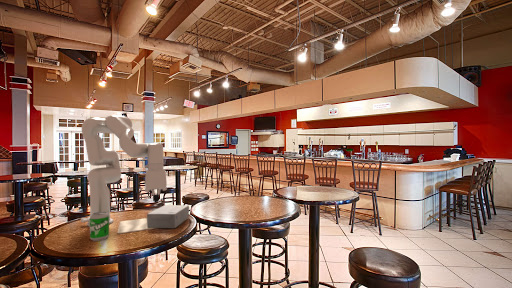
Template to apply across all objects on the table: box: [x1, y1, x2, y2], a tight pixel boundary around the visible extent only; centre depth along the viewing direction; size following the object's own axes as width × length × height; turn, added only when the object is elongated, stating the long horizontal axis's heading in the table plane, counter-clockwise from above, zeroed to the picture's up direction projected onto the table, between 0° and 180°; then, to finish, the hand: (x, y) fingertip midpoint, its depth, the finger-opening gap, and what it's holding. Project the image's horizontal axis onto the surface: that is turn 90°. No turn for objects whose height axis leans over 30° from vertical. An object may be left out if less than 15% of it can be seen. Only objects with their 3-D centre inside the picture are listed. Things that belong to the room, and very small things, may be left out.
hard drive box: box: [146, 204, 190, 229], centre depth 138 cm, size 16×8×20 cm
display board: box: [116, 217, 157, 235], centre depth 138 cm, size 28×22×1 cm
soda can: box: [89, 212, 110, 242], centre depth 116 cm, size 8×8×12 cm
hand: (156, 202), depth 128 cm, fingers closed
